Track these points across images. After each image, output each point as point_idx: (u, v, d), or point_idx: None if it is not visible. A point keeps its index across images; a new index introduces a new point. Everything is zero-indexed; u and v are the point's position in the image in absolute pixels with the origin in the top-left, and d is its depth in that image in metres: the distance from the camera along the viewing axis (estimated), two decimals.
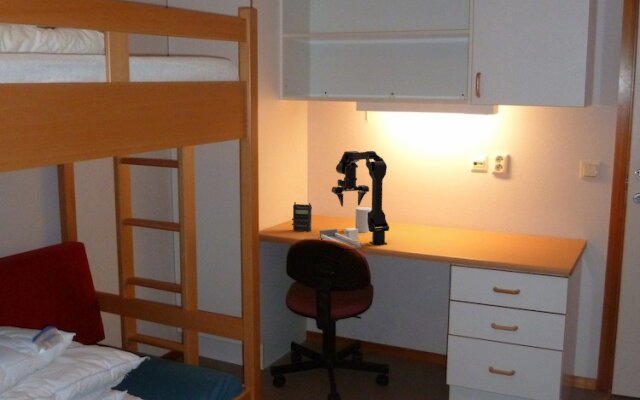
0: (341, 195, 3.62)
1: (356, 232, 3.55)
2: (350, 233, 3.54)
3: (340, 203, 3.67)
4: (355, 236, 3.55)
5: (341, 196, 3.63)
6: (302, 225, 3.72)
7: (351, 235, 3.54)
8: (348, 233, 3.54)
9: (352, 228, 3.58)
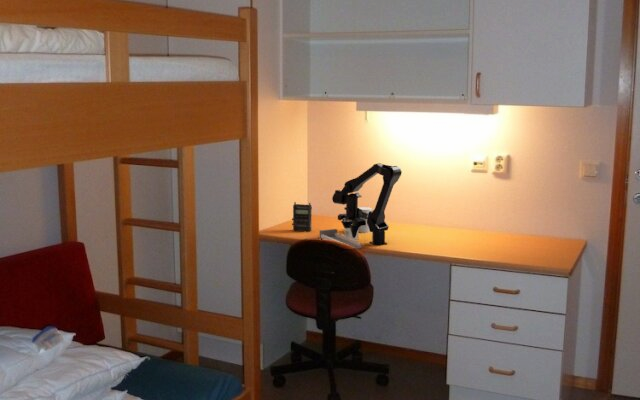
0: (342, 223, 3.58)
1: None
2: (350, 233, 3.54)
3: None
4: None
5: (343, 224, 3.59)
6: (302, 225, 3.72)
7: (351, 235, 3.54)
8: (348, 233, 3.54)
9: None
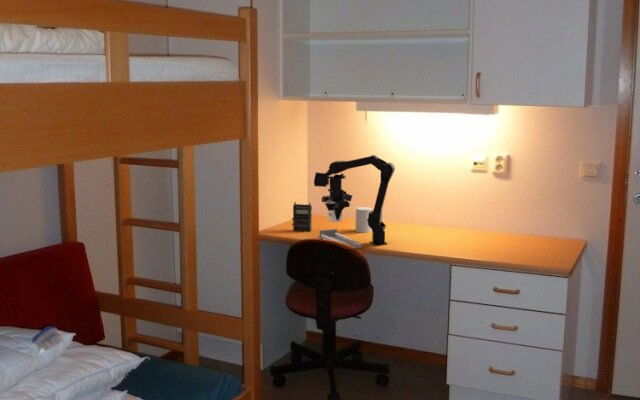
0: (326, 205, 3.52)
1: None
2: (334, 215, 3.47)
3: None
4: (339, 218, 3.48)
5: (326, 206, 3.52)
6: (302, 225, 3.72)
7: (335, 217, 3.47)
8: (332, 215, 3.47)
9: None
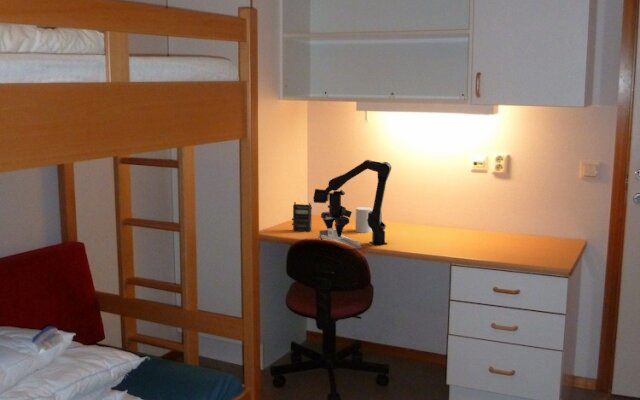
0: (324, 221, 3.54)
1: None
2: (333, 233, 3.48)
3: None
4: None
5: (324, 222, 3.54)
6: (302, 225, 3.72)
7: (334, 235, 3.49)
8: (331, 233, 3.49)
9: (335, 228, 3.52)
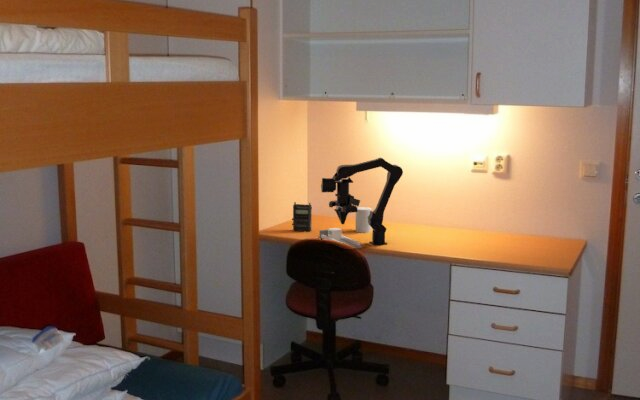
0: (336, 211, 3.43)
1: (339, 232, 3.50)
2: (333, 233, 3.48)
3: None
4: (338, 236, 3.50)
5: (336, 212, 3.43)
6: (302, 225, 3.72)
7: (334, 235, 3.49)
8: (331, 233, 3.49)
9: (335, 228, 3.52)
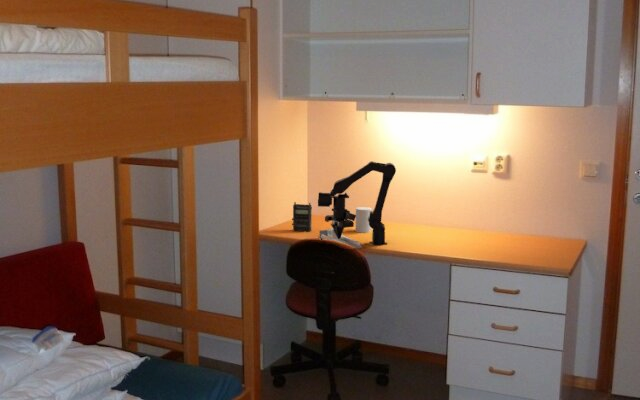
0: (332, 226, 3.47)
1: None
2: (333, 233, 3.48)
3: None
4: None
5: (332, 227, 3.47)
6: (302, 225, 3.72)
7: (334, 235, 3.49)
8: (331, 233, 3.49)
9: None
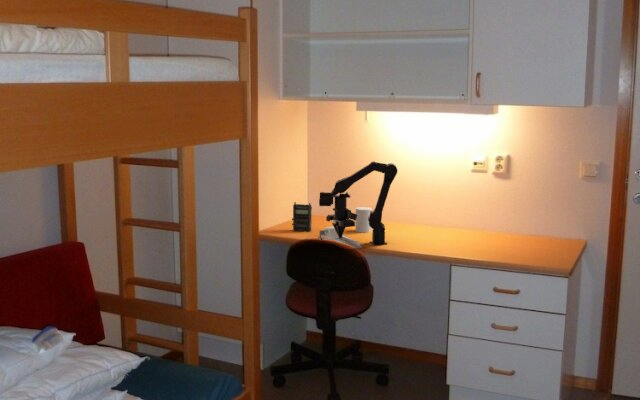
0: (333, 225, 3.47)
1: None
2: (330, 232, 3.51)
3: None
4: (335, 235, 3.53)
5: (334, 226, 3.47)
6: (302, 225, 3.72)
7: (331, 234, 3.52)
8: (328, 232, 3.52)
9: (332, 227, 3.55)
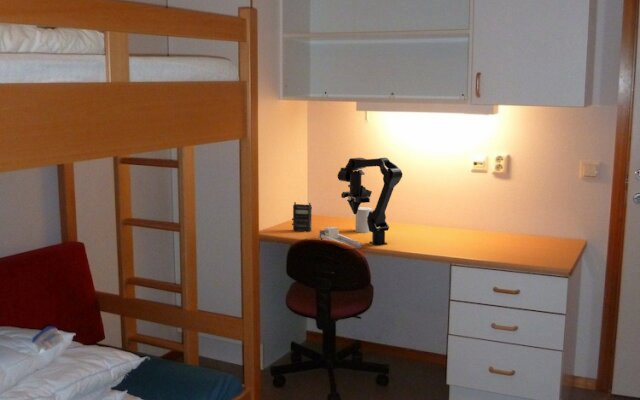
0: (348, 201, 3.56)
1: (336, 231, 3.53)
2: (330, 232, 3.51)
3: None
4: (335, 235, 3.53)
5: (349, 203, 3.57)
6: (302, 225, 3.72)
7: (331, 234, 3.52)
8: (328, 232, 3.52)
9: (332, 227, 3.55)
